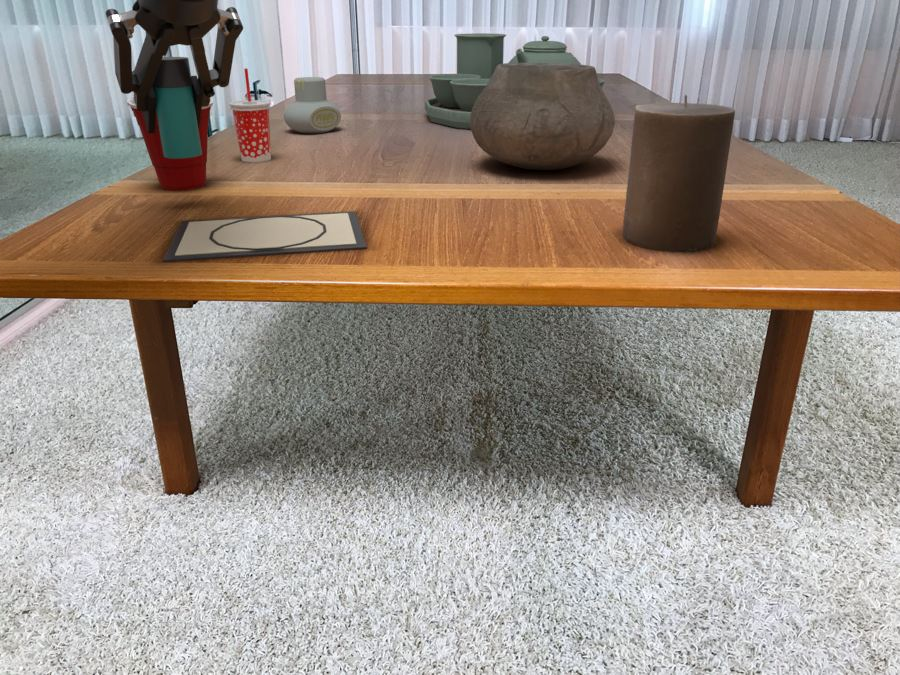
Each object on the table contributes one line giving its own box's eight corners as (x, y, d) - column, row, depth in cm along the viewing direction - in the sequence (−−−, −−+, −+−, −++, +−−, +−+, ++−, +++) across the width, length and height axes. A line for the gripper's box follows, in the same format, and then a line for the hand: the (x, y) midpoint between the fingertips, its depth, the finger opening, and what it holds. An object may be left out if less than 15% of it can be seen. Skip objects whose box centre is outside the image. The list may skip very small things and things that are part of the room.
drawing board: (163, 264, 70) (162, 257, 70) (182, 225, 83) (181, 219, 83) (367, 251, 74) (366, 244, 74) (355, 215, 87) (355, 209, 86)
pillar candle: (710, 259, 71) (736, 102, 65) (612, 247, 75) (627, 97, 68) (718, 233, 80) (741, 90, 73) (629, 223, 83) (644, 87, 77)
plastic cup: (167, 201, 92) (150, 104, 87) (128, 188, 99) (111, 97, 94) (240, 187, 100) (229, 96, 95) (200, 175, 106) (187, 90, 101)
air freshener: (324, 126, 147) (320, 75, 143) (349, 131, 142) (345, 77, 138) (278, 133, 140) (272, 79, 136) (302, 138, 135) (297, 82, 131)
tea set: (394, 127, 146) (391, 39, 139) (465, 103, 180) (466, 31, 172) (588, 140, 132) (595, 43, 125) (625, 111, 166) (633, 33, 159)
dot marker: (160, 159, 85) (142, 60, 80) (166, 152, 89) (149, 57, 84) (200, 157, 86) (185, 59, 81) (204, 150, 90) (190, 56, 85)
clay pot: (495, 150, 123) (497, 57, 117) (620, 159, 116) (630, 60, 110) (449, 177, 105) (449, 68, 98) (595, 189, 98) (605, 73, 92)
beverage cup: (247, 156, 119) (236, 66, 113) (281, 157, 118) (272, 67, 112) (230, 163, 114) (217, 70, 108) (266, 165, 113) (256, 70, 107)
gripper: (89, -3, 64) (102, 155, 84) (280, -4, 72) (250, 140, 92) (69, -66, 66) (85, 102, 85) (257, -60, 74) (233, 92, 94)
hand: (171, 122), depth 89 cm, fingers closed on dot marker, 5 cm apart
